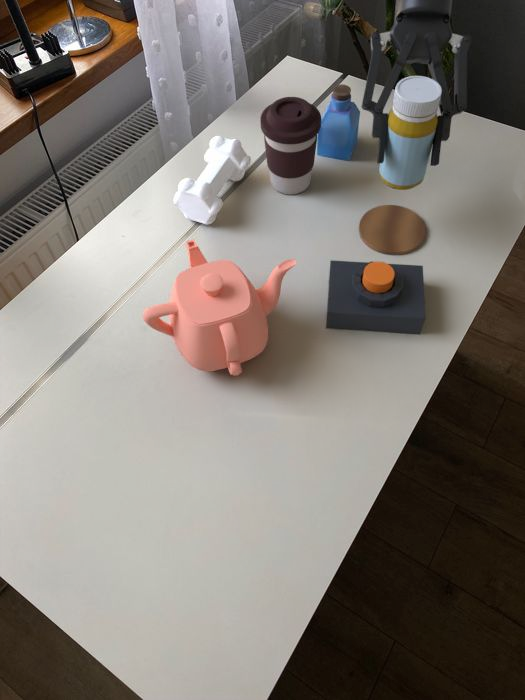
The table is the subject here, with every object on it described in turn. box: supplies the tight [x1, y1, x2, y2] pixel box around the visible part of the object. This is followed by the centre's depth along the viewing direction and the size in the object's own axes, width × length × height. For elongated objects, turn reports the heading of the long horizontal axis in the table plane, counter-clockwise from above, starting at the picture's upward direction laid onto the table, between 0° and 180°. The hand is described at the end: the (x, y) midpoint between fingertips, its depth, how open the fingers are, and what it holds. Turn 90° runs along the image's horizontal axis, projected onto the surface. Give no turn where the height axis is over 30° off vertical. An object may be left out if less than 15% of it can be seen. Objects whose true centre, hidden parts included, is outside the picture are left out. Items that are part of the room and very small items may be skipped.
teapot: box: [142, 239, 297, 376], centre depth 85 cm, size 16×17×14 cm
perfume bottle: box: [316, 84, 361, 162], centre depth 109 cm, size 6×6×12 cm
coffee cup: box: [259, 96, 322, 195], centre depth 103 cm, size 10×10×15 cm
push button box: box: [325, 259, 426, 336], centre depth 90 cm, size 14×10×6 cm
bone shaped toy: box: [173, 135, 252, 225], centre depth 104 cm, size 15×9×8 cm, turn 156°
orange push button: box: [362, 261, 395, 294], centre depth 87 cm, size 4×4×2 cm
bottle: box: [378, 75, 442, 191], centre depth 87 cm, size 7×7×15 cm
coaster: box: [358, 204, 427, 256], centre depth 101 cm, size 11×11×1 cm
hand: (407, 163), depth 87 cm, fingers closed on bottle, 7 cm apart
